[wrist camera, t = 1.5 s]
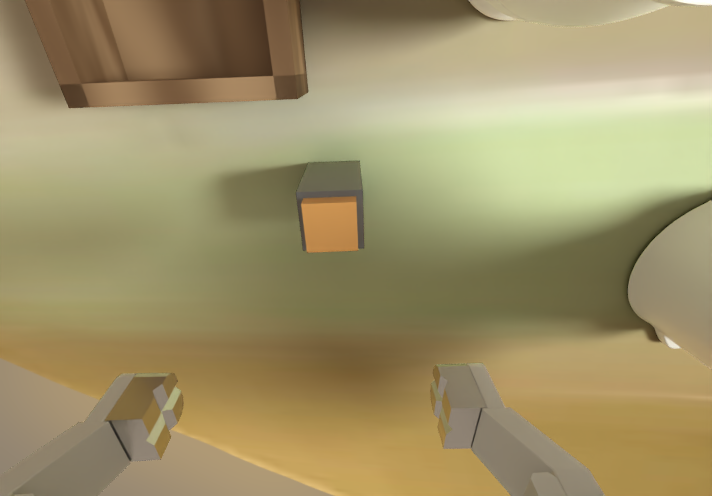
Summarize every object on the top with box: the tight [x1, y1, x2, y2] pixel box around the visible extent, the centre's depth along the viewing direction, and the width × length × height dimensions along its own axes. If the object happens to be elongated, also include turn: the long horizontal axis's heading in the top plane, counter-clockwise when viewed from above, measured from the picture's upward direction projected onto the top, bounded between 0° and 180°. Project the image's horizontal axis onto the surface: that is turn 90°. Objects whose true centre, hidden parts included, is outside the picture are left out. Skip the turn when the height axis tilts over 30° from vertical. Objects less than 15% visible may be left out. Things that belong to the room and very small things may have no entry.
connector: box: [296, 161, 364, 253], centre depth 24 cm, size 4×4×8 cm
